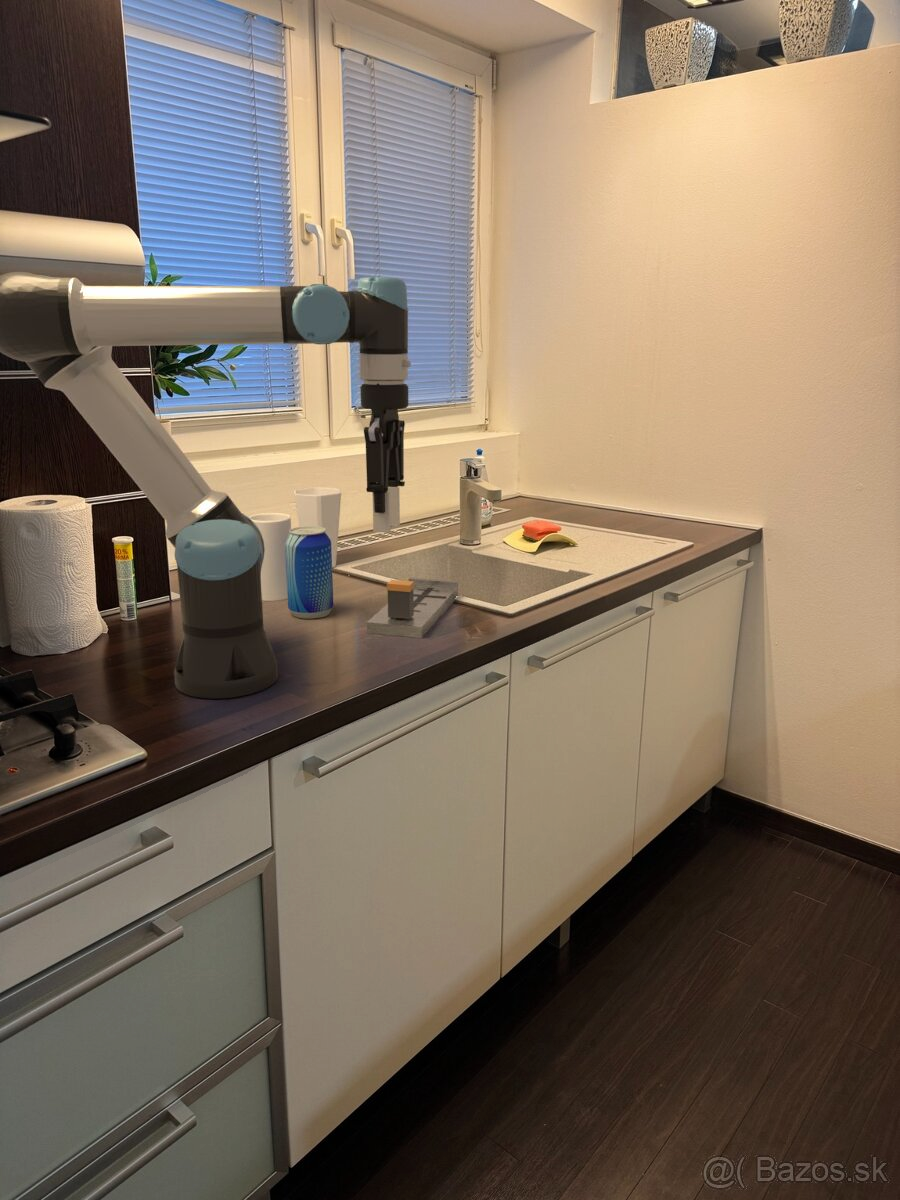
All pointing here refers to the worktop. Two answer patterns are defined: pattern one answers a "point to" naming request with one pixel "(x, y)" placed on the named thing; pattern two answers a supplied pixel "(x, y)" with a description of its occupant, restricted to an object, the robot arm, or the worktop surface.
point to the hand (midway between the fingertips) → (386, 528)
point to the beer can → (309, 572)
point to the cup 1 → (273, 554)
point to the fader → (400, 599)
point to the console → (417, 609)
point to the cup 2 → (320, 511)
